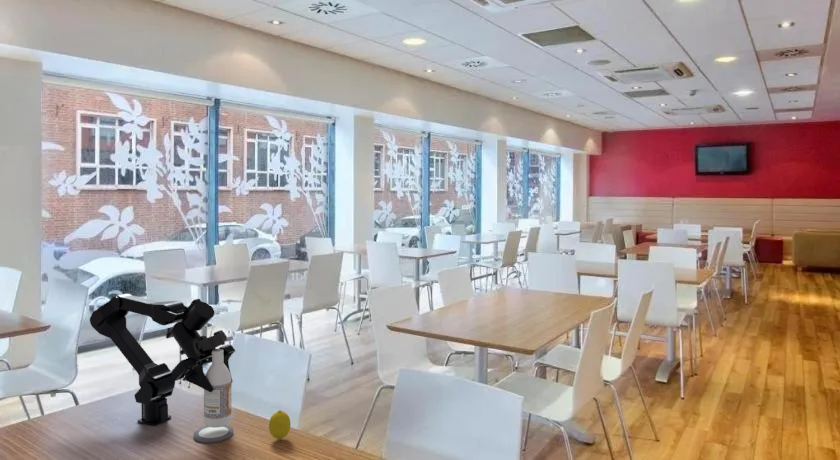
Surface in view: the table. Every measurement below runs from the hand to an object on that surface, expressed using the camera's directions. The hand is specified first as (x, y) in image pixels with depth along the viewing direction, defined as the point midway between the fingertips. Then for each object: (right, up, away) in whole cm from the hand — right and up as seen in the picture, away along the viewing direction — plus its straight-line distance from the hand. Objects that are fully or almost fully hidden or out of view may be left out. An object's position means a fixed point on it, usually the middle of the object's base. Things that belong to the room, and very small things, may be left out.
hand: (221, 387), depth 160 cm
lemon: (+16, -14, -1) cm, 21 cm away
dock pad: (-3, -13, +1) cm, 13 cm away
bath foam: (-2, -10, +1) cm, 10 cm away
